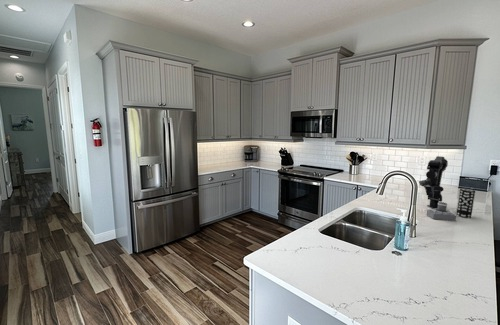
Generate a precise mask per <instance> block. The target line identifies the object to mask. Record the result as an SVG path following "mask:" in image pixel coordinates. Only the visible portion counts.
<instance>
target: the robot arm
mask: <svg viewBox="0 0 500 325" xmlns="http://www.w3.org/2000/svg"><path fill="white" fill-rule="evenodd" d="M427 163H428V164H427V166H426V170H428V171H427V172H425V176H426V179H423V180H419V181H418V183H419V186H421V187H423V188H424V190H425V193H426V196H427V200H429V204H427V207H429V208H430V209H436V208H437V207H438V202H443V194H442V192H443V191H444V187H442V186H441V182H442V178H443V177H442V176H443V173H444V171H446V170H447V168H448V165H449V163H448V159H446V158H445V157H444V156H435V158H434V159H430V160H429V161H428V162H427Z"/></svg>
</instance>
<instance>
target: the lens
mask: <svg viewBox="0 0 500 325" xmlns="http://www.w3.org/2000/svg"><path fill="white" fill-rule="evenodd" d="M447 208H448V203H446V202H444V201H441V202H440V201H439V202H438V207H437V211H440V212H446V210H447Z"/></svg>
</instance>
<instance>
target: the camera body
mask: <svg viewBox="0 0 500 325" xmlns="http://www.w3.org/2000/svg"><path fill="white" fill-rule="evenodd" d="M426 216H427V217H429V218H431V219H432V220H435V221H436V220H438V221H448V222H449V221H451V222H456V221H457V215H456V214H455V213H453V212H451V211H449V210H447V209H446V212H440V211H437V208H432V209H426Z"/></svg>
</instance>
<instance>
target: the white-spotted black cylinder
mask: <svg viewBox="0 0 500 325" xmlns="http://www.w3.org/2000/svg"><path fill="white" fill-rule="evenodd" d="M475 195H476V190H474V189H469V188H459V194H458V201H457V208H456V214H455V215H456V217H458V218H462V219H463V218H464V219H471V218H472V215H473V211H474V210H473V209H474V203H475V202H474V201H475V198H476V197H475Z"/></svg>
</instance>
